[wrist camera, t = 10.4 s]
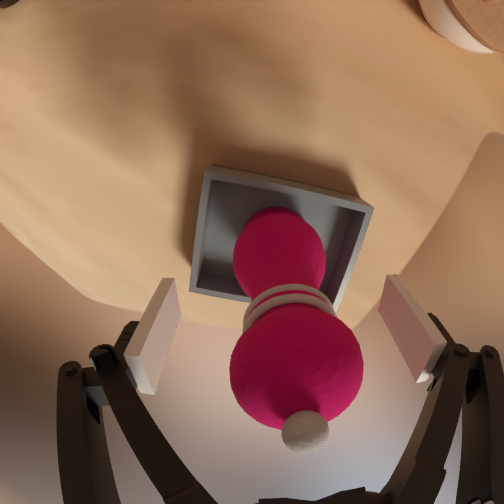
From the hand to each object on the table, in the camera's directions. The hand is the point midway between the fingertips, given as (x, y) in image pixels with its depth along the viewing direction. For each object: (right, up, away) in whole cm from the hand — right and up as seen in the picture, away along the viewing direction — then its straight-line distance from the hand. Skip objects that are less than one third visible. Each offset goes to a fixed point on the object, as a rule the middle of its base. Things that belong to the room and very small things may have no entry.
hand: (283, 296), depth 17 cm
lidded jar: (+19, +28, -1) cm, 33 cm away
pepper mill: (0, +4, +10) cm, 10 cm away
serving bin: (0, +4, +10) cm, 11 cm away
